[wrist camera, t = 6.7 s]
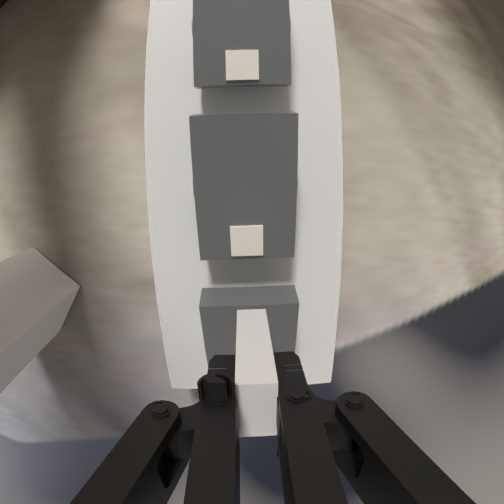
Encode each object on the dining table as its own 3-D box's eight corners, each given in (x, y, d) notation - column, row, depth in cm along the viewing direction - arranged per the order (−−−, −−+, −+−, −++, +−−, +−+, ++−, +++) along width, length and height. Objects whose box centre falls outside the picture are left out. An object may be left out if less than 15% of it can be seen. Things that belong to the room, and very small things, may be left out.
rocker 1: (195, -21, 16) (190, -35, 14) (285, -23, 16) (290, -37, 14) (195, 89, 20) (190, 87, 18) (288, 87, 20) (294, 84, 18)
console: (166, 15, 24) (149, -20, 17) (319, 12, 24) (338, -23, 17) (181, 353, 32) (169, 395, 25) (322, 348, 32) (340, 387, 25)
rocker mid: (191, 113, 18) (184, 116, 16) (294, 111, 19) (302, 113, 16) (201, 243, 23) (196, 261, 20) (291, 240, 23) (297, 258, 21)
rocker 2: (199, 283, 21) (195, 308, 19) (296, 280, 21) (303, 304, 19) (212, 373, 25) (210, 398, 23) (289, 370, 25) (293, 394, 23)
